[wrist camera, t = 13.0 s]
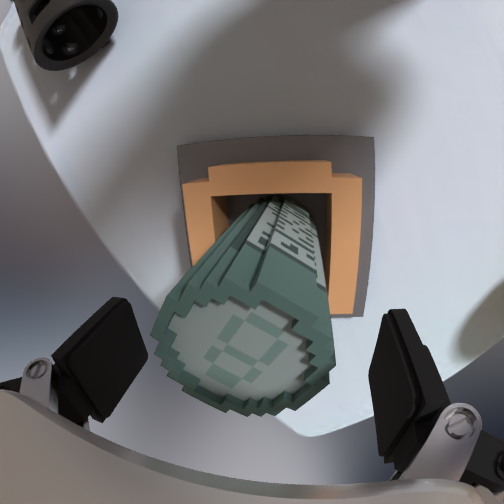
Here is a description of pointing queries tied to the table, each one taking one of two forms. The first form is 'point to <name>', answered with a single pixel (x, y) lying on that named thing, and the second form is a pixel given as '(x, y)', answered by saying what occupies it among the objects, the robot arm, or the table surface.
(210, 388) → the can
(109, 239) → the table surface
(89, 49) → the muzzle brake
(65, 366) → the robot arm
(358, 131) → the table surface
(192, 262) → the socket block
